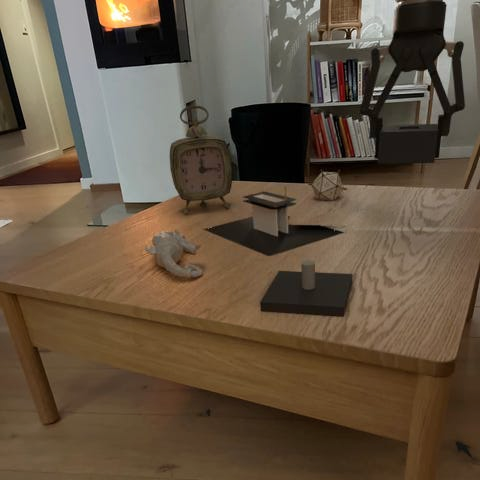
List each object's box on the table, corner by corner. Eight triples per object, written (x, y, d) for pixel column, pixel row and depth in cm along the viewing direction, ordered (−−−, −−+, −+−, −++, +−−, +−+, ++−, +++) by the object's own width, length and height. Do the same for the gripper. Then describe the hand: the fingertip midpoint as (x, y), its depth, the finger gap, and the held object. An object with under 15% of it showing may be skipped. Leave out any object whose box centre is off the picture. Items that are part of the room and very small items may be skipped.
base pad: (352, 282, 76) (353, 249, 74) (343, 316, 66) (344, 280, 64) (279, 278, 80) (277, 247, 77) (260, 311, 70) (258, 276, 67)
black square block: (433, 153, 85) (437, 123, 83) (434, 163, 78) (438, 130, 75) (381, 154, 88) (383, 125, 86) (377, 163, 81) (379, 132, 78)
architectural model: (272, 211, 118) (270, 170, 113) (344, 232, 99) (345, 184, 94) (203, 229, 109) (198, 185, 104) (268, 255, 90) (265, 204, 85)
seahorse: (228, 265, 84) (185, 224, 98) (169, 259, 78) (132, 217, 92) (220, 291, 86) (179, 247, 101) (161, 287, 80) (127, 241, 94)
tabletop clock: (179, 217, 119) (164, 109, 108) (175, 209, 127) (160, 107, 116) (235, 209, 122) (226, 103, 110) (228, 202, 130) (218, 101, 118)
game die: (320, 215, 124) (308, 181, 125) (352, 202, 122) (339, 167, 123) (315, 207, 116) (301, 170, 117) (349, 192, 113) (335, 155, 114)
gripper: (344, 8, 72) (340, 161, 83) (504, -9, 66) (476, 160, 76) (351, 12, 79) (345, 154, 89) (497, -4, 72) (472, 152, 82)
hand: (406, 156), depth 83 cm, fingers closed on black square block, 9 cm apart
